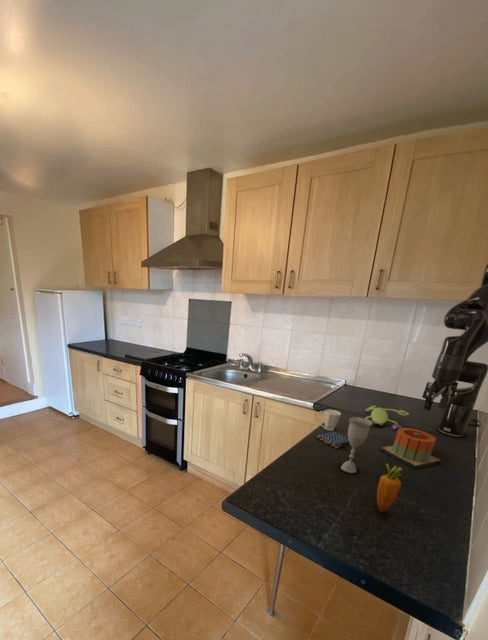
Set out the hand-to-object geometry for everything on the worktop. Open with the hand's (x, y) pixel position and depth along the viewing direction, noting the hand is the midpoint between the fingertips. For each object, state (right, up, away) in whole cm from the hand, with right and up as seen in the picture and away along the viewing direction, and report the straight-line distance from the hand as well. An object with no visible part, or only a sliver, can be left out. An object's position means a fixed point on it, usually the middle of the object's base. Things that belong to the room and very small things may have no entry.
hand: (434, 409), depth 122 cm
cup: (-29, -9, +26) cm, 40 cm away
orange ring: (-6, -13, +2) cm, 15 cm away
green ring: (-7, -17, +3) cm, 19 cm away
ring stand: (-7, -19, +4) cm, 20 cm away
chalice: (-36, -21, -8) cm, 42 cm away
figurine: (+3, -7, +38) cm, 39 cm away
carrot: (-37, -28, -30) cm, 55 cm away
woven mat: (-31, -14, +13) cm, 37 cm away
